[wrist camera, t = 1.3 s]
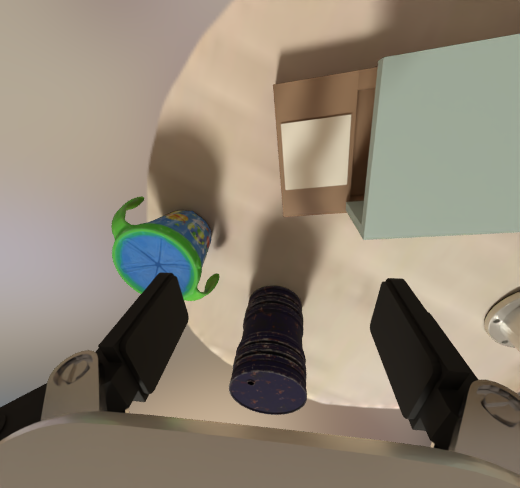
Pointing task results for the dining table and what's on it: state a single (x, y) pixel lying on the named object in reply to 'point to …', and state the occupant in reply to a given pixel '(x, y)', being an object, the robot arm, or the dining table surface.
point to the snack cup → (162, 250)
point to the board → (324, 140)
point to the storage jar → (271, 354)
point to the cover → (444, 143)
